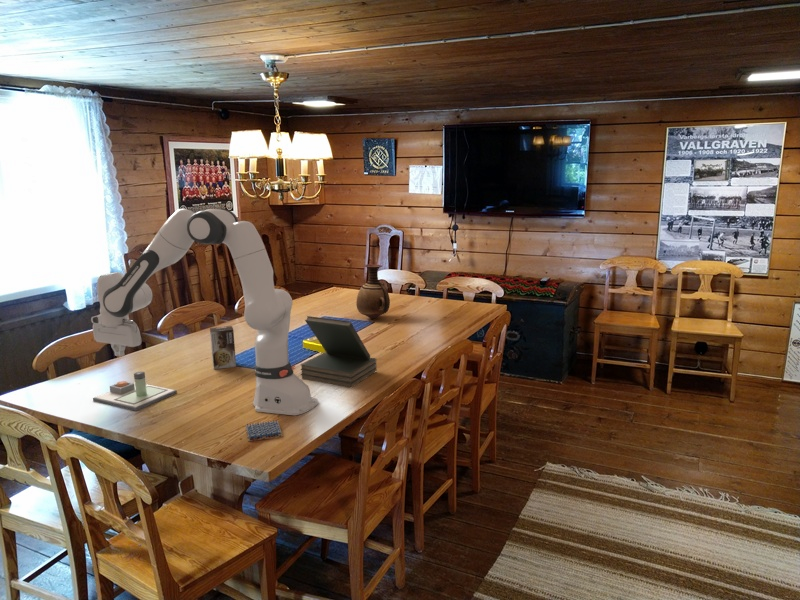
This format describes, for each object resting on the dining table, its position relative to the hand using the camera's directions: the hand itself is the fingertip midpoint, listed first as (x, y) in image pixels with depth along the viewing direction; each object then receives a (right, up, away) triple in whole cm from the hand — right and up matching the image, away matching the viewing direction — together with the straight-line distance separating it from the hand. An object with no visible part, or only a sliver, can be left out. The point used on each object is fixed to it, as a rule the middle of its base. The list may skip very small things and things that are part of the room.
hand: (119, 355), depth 205 cm
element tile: (+65, -3, +59) cm, 88 cm away
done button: (0, -12, +3) cm, 12 cm away
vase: (+85, +9, +112) cm, 141 cm away
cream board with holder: (+5, -15, 0) cm, 16 cm away
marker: (+8, -14, -1) cm, 16 cm away
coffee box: (+27, -8, +34) cm, 44 cm away
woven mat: (+58, -22, -28) cm, 68 cm away
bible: (+76, -11, +22) cm, 80 cm away
